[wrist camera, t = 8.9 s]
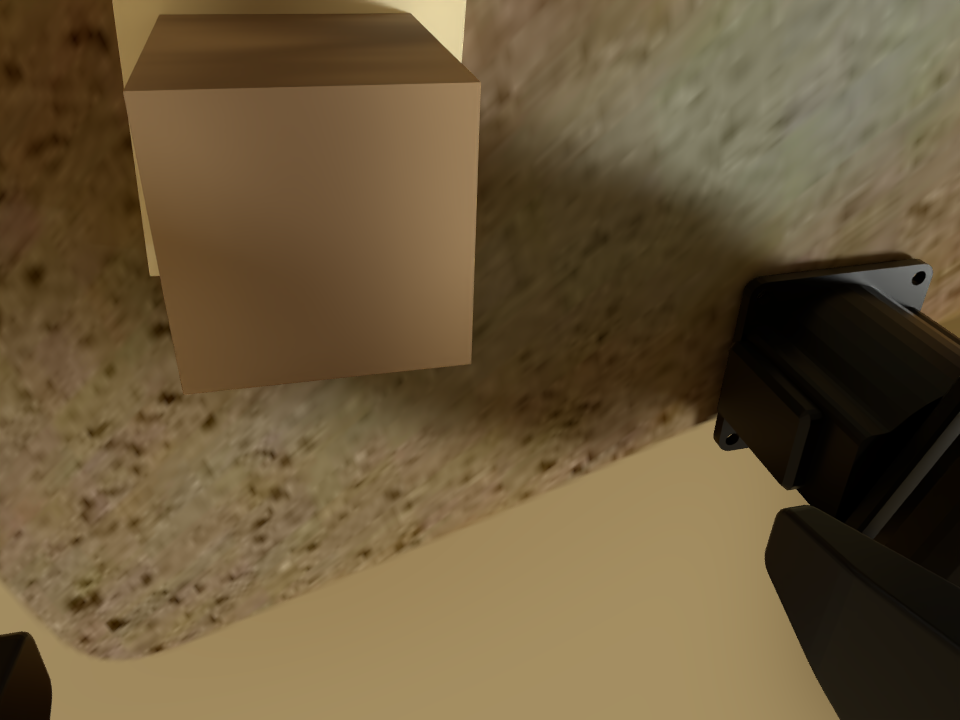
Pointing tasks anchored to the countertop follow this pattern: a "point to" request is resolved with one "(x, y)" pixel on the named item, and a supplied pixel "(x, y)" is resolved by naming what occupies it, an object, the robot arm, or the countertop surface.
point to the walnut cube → (307, 194)
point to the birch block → (140, 4)
